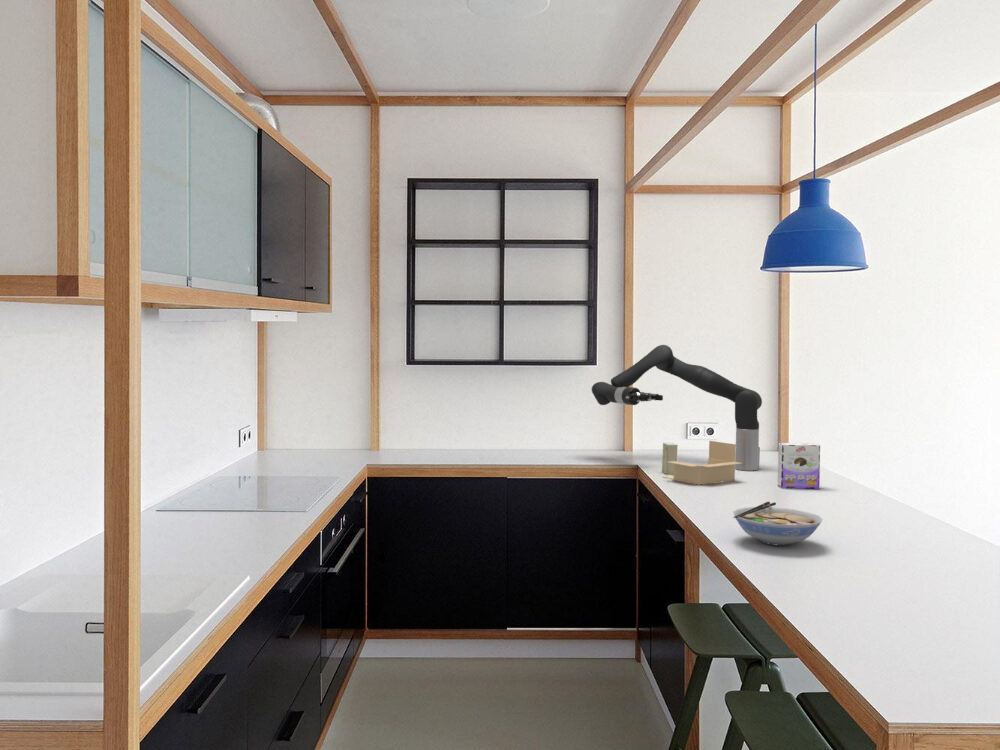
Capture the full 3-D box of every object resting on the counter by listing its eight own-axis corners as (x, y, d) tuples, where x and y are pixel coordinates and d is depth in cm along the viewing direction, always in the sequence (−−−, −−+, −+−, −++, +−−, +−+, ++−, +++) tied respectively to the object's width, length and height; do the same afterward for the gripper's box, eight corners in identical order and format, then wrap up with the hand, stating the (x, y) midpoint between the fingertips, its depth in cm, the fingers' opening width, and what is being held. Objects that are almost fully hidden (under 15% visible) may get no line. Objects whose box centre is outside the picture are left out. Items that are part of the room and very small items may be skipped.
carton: (696, 473, 332) (697, 438, 332) (742, 481, 313) (743, 445, 312) (654, 478, 319) (654, 442, 318) (699, 487, 299) (700, 449, 299)
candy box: (815, 486, 305) (816, 442, 304) (819, 489, 299) (821, 444, 298) (777, 485, 306) (778, 441, 306) (780, 488, 300) (782, 443, 300)
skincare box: (661, 472, 334) (662, 442, 333) (672, 472, 334) (672, 442, 334) (666, 474, 328) (667, 444, 327) (677, 474, 328) (677, 444, 328)
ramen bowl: (800, 559, 202) (801, 526, 202) (715, 543, 218) (715, 512, 217) (836, 541, 221) (837, 511, 221) (755, 527, 236) (756, 499, 236)
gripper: (615, 387, 346) (642, 389, 333) (639, 386, 354) (667, 388, 341) (615, 405, 346) (642, 407, 333) (639, 403, 354) (667, 406, 341)
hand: (654, 398), depth 337 cm, fingers open, 8 cm apart
